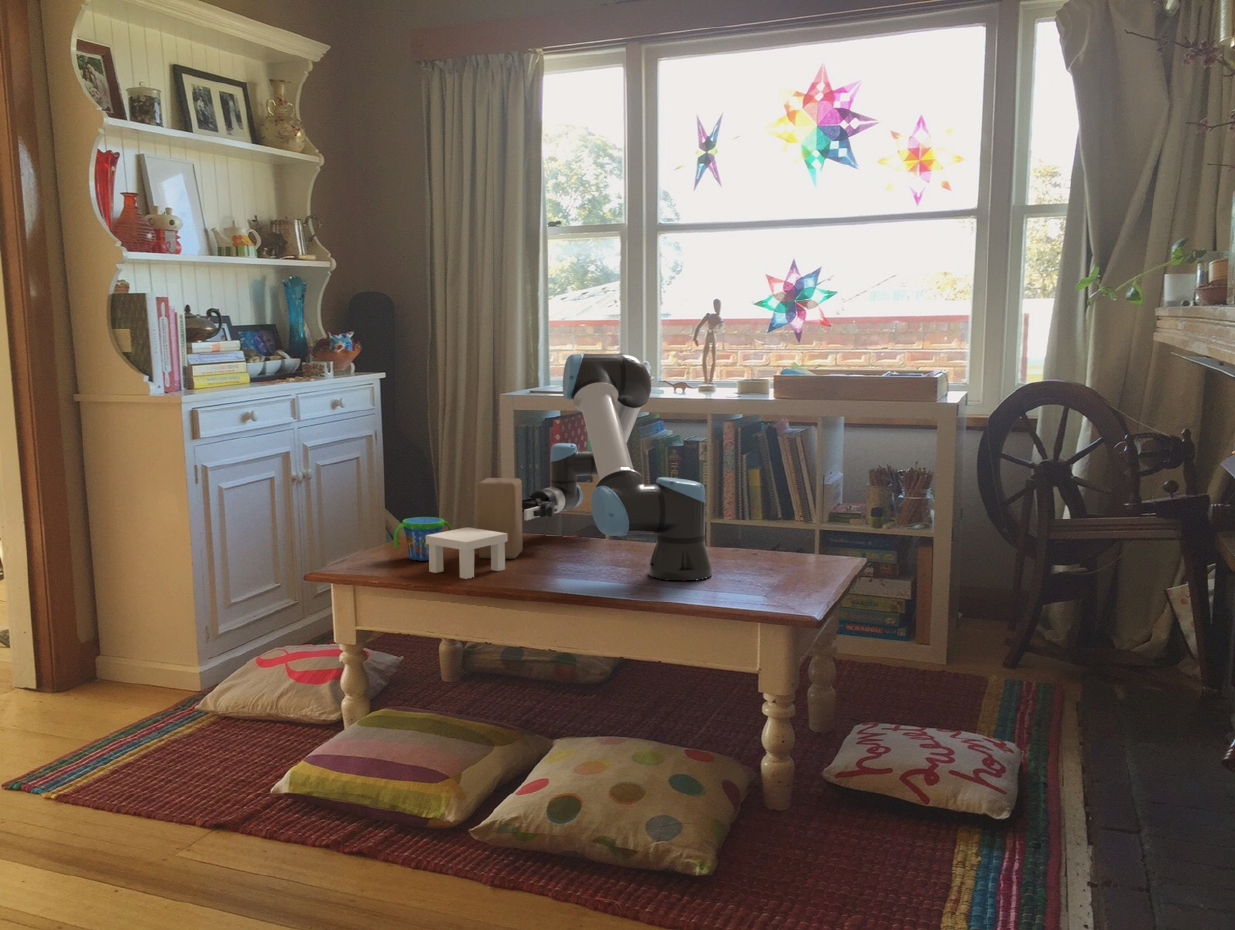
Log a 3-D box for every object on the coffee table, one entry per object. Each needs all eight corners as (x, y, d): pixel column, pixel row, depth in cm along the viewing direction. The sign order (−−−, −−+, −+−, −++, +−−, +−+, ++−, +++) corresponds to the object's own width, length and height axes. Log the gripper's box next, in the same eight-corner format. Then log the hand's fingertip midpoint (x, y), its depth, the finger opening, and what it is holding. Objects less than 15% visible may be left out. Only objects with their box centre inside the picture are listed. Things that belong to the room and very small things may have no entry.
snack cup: (447, 552, 273) (446, 514, 272) (459, 559, 264) (458, 520, 262) (388, 557, 266) (387, 519, 265) (399, 565, 257) (398, 525, 256)
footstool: (507, 569, 252) (507, 533, 251) (466, 579, 241) (466, 542, 240) (467, 561, 261) (467, 527, 260) (426, 571, 250) (425, 535, 249)
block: (523, 552, 273) (522, 477, 271) (515, 559, 263) (514, 482, 261) (486, 551, 274) (485, 477, 272) (477, 559, 264) (476, 482, 262)
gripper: (584, 518, 283) (544, 531, 264) (509, 511, 295) (465, 523, 276) (584, 491, 282) (543, 502, 264) (509, 486, 294) (464, 495, 275)
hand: (503, 513), depth 270 cm, fingers open, 13 cm apart
